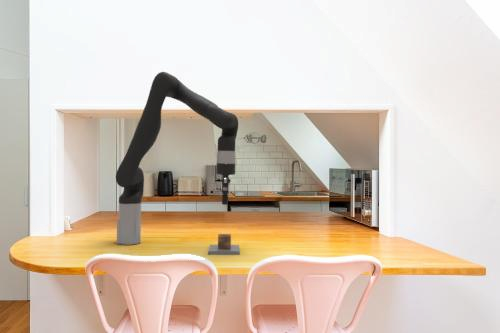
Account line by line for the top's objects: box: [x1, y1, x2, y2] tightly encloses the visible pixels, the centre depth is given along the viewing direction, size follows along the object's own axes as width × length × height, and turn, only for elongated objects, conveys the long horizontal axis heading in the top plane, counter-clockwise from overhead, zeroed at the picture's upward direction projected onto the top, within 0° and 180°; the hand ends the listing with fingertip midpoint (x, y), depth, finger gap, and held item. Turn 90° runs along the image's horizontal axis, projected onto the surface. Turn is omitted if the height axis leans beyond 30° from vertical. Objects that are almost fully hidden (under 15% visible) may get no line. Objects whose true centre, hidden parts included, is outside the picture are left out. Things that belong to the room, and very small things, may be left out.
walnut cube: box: [217, 233, 232, 249], centre depth 154 cm, size 5×5×5 cm
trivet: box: [208, 244, 241, 255], centre depth 154 cm, size 12×12×1 cm
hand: (225, 203), depth 153 cm, fingers open, 8 cm apart
